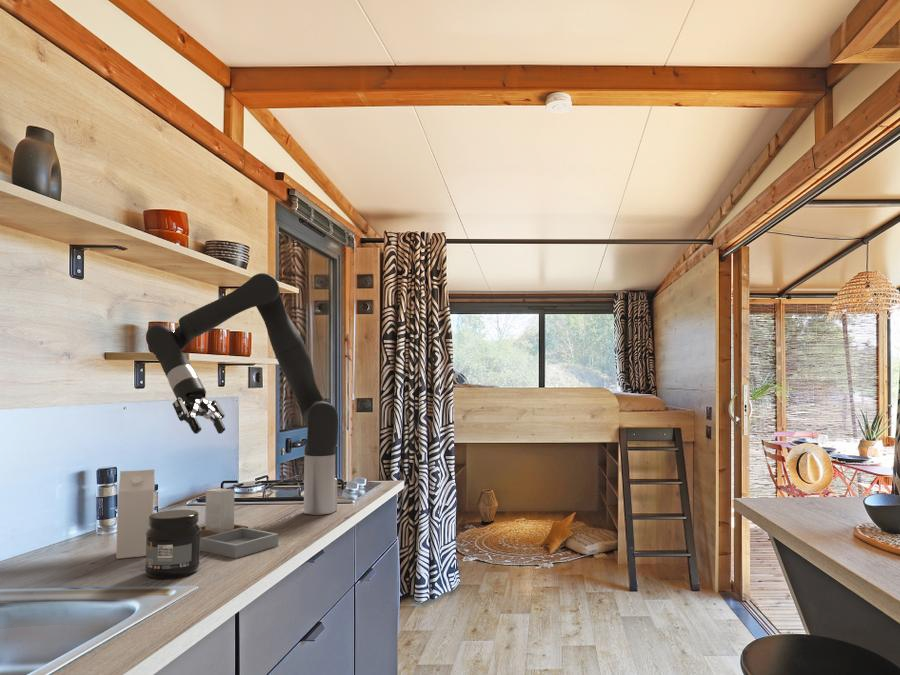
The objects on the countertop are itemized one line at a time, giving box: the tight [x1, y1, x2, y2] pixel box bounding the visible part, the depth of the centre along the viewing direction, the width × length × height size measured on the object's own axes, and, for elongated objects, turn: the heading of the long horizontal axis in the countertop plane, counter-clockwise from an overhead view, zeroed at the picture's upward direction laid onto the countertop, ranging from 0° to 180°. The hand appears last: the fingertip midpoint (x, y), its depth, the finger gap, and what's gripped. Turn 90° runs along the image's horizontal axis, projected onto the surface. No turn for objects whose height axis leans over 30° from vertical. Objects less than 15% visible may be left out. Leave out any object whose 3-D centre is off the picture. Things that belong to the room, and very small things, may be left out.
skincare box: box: [204, 487, 235, 533], centre depth 160 cm, size 6×4×12 cm
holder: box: [199, 523, 249, 538], centre depth 160 cm, size 9×11×2 cm
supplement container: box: [144, 509, 201, 580], centre depth 131 cm, size 10×10×12 cm
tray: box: [200, 527, 279, 559], centre depth 150 cm, size 13×13×3 cm
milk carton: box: [115, 469, 155, 560], centre depth 146 cm, size 7×7×19 cm
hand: (210, 431), depth 168 cm, fingers open, 8 cm apart
